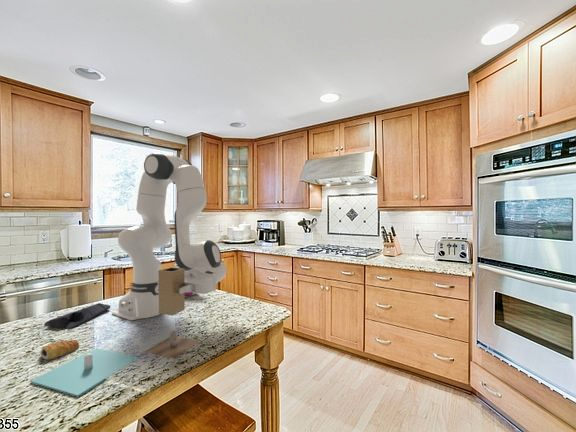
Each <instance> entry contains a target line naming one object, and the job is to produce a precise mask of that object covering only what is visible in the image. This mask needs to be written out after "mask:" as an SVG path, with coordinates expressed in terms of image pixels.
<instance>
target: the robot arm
mask: <svg viewBox="0 0 576 432" xmlns="http://www.w3.org/2000/svg"><path fill="white" fill-rule="evenodd" d="M143 169H144V172H143V173H142V175H141V178H140V182H139V187H138V192H137V199H136V211H137V214H139V215H140V216H141V217H142V223H143V225H136V226H131V227H127V228H125V229H123V230H121V231H120V232H119V234H118V238H117V242H118V246H119V248H120V249H121V250H123V251H124V252H125V253H126V254H127V255H128V257H129V258H130V261H131V264H132V269H133V270H132V272H133V273H132V274H133V275H132V276H133V281H132V282H131V283H129V287H130V290H129V291H128V292H126V294H125V295H123V296H122V297H121V298H119V300H118V307H117V308H116V309H114V310H112V313H111V314H112V315H114V316H115V317H119V318H123V319H126V320H128V321H136V320H139V319H148V318H153V317H155V316H156V317H157V316H160V314H159V276H158V271H159V270H162V262H161V261H160V260H159V259H158V258H156V256H155V254H154V250H155V249H160V248H163V247H165V246H166V245H168V244H169V243H171V241H172V238H173V234H172V230H171V228H170V227H169V226H168V225H167V222H166V215H165V208H166V200H167V189H168V187H169V186H170V184H171V183H172V184H173V185H175V186H176V192H177V207H176V209H175V211H174V215H173V216H174V223H173V224H174V236H175V237H174V239H175V250H174V262H175V264H177V266H178V267H179V268H184V269H185V271H187V272H186V274H185V286H184V287H179V288H177V293H179V294H182V293H185V292H192V293H196V294H201V295H205V294H209V293H212V292H215V291H216V290H217V285H218V283H220V282H221V281H222V280H223V279H224V278H225V277H226V274H227V265H226V264H225V263H224V262H223V261H222V253H221V249H220V248H219V246H218V245H217V244H216V243H215V242H214V241H213V240H204V241H201V242H197V243H193V244H191V240H190V238H191V237H190V235H191V234H190V225H191V222H192V220H193V219H194V218H195V217H196V216H197V215H199V214H200V213H201V212H202V211H203V210H204V209H205V207H206V206H207V203H208V194H207V191H206V186H205V183H204V179H203V176H202V174H201V172H200V169H199V168H198V167H197V166H195V165H193V164H192V163H191V162H190V161H189V160H188V159H185V158H181V157H180V156H175V155H170V154H164V153H161V152H153V153H152V152H151V153H150V154H148V155H147V156H146V157H145V160H144V162H143Z"/></svg>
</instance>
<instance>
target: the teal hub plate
mask: <svg viewBox="0 0 576 432" xmlns="http://www.w3.org/2000/svg"><path fill="white" fill-rule="evenodd" d="M137 359H140V357H139V356H135V355H131V354H125V353H121V352H115V351H112V350H107V349H103V348H98V347H96V348H94V349H92V350H90V351H88V352H86V353H84V354H82V355H80V356H78V357H76V358H74V359H71V360H70V361H67V362H66V363H64V364H61V365H59V366H58V367H55V368H53V369H52V370H49V371H47V372H45V373H43V374H42V375H40V376H37V377H36V378H33V379H30V381H29V383H30V382H31V383H34V384H33V385H35V384H37V385H36V386H38V385H41V386H44V387H43V388H45V387H47V388H46V389H48V388H51V389H54V390H57V391H56V392H58V391H61V392H63V393H62V394H64V393H67V394H66V395H68V394H70V395H69V396H71V395H72V397H74V396H76V397H75V398H80V397H81V396H83V395H84V394H87V393H88V392H89V391H91V390H92V389H94V388H96V387H97V386H99V385H101V384H102V383H104V382H106V381H107V380H108V378H109V377H110V376H112V375H114V374H115V373H116V372H118V371H120V370H121V369H123V368H125V367H126V366H128V365H130V364H132V363H133V362H134V361H135V360H137ZM31 383H30V384H31ZM41 386H40V387H41ZM95 386H96V387H95ZM51 389H50V390H51ZM54 390H53V391H54ZM61 392H60V393H61ZM79 396H80V397H79Z"/></svg>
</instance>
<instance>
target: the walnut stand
mask: <svg viewBox="0 0 576 432" xmlns="http://www.w3.org/2000/svg"><path fill="white" fill-rule="evenodd" d="M198 342H200V339H193V338H188V337H183V336H178V335H177V331H176V330H171V331H170V333H169V336H168V337H166V338H165V339H163V340H162V341H160V342H159V343H157V344H155V345H153V346H152V347H150V348H148V349H147V350H145V351H144V353H147V354H151V355H156V356H163V357H166V358H167V357H168V358H171V359H177V358H178V357H179V356H181V355H182V354H183V353H185V352H187V350H189V349H191V348H192V347H193V346H194V345H196V344H198Z"/></svg>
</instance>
